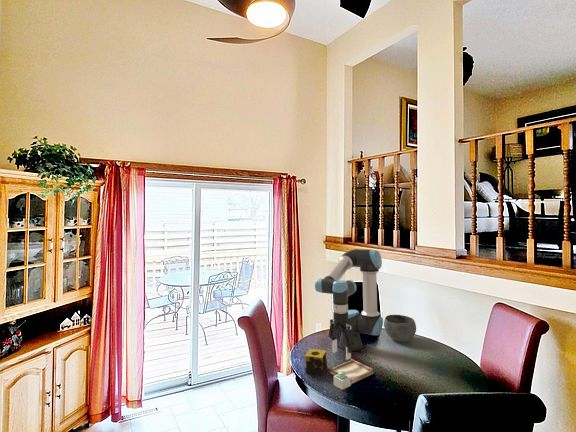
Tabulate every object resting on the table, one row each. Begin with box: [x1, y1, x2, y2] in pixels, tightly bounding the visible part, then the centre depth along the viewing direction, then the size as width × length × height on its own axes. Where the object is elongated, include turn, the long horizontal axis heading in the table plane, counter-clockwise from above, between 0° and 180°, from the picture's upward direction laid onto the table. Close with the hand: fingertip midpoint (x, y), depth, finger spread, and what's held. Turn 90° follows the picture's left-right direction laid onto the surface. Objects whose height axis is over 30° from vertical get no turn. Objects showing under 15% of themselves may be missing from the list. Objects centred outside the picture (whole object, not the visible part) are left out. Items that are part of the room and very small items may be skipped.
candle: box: [304, 348, 328, 376], centre depth 180 cm, size 10×10×10 cm
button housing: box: [333, 374, 351, 391], centre depth 164 cm, size 6×6×4 cm
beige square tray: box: [328, 358, 374, 385], centre depth 176 cm, size 16×18×2 cm
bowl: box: [383, 314, 417, 343], centre depth 220 cm, size 21×21×15 cm
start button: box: [338, 371, 345, 380], centre depth 164 cm, size 4×4×4 cm
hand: (341, 355), depth 164 cm, fingers open, 9 cm apart
